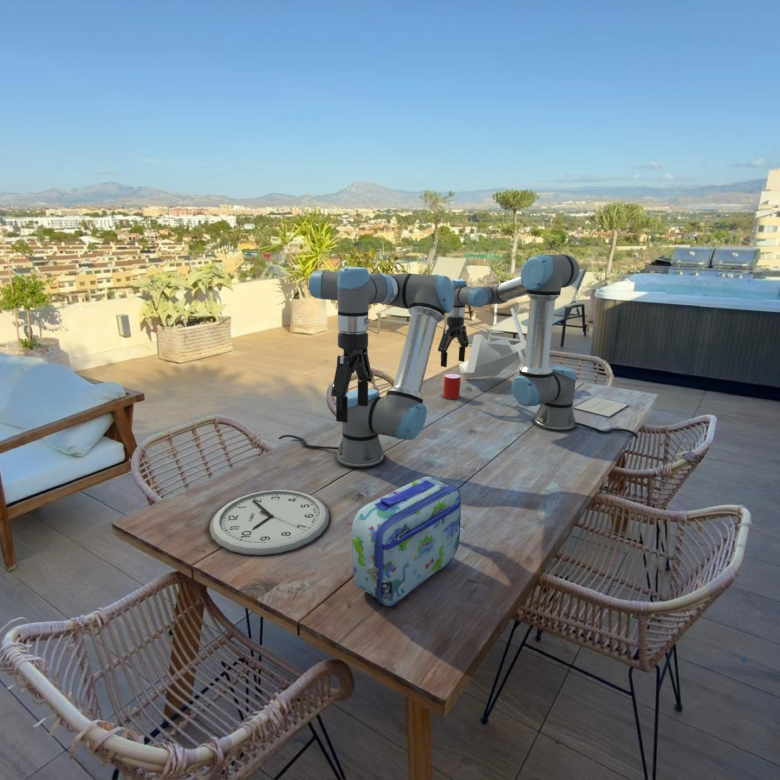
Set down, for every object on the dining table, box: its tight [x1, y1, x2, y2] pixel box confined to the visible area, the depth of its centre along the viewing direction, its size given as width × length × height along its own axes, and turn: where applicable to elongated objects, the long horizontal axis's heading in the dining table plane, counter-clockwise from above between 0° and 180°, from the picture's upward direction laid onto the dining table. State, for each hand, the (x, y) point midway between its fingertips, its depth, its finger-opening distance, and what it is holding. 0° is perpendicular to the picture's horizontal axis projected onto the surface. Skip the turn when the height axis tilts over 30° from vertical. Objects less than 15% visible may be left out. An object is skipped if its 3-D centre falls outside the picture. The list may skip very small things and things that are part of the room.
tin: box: [442, 373, 461, 400], centre depth 235 cm, size 7×7×10 cm
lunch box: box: [351, 476, 462, 607], centre depth 111 cm, size 26×11×21 cm, turn 135°
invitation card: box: [573, 396, 629, 418], centre depth 226 cm, size 21×1×15 cm
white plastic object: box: [458, 307, 526, 379], centre depth 256 cm, size 37×45×31 cm
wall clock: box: [209, 489, 330, 556], centre depth 135 cm, size 30×2×30 cm
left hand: (352, 413), depth 135 cm, fingers open, 13 cm apart
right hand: (452, 363), depth 232 cm, fingers open, 13 cm apart
